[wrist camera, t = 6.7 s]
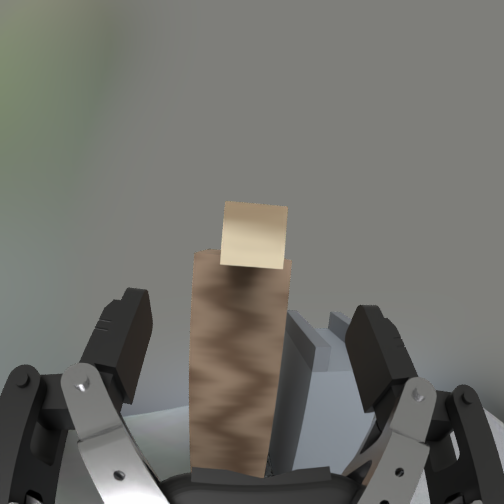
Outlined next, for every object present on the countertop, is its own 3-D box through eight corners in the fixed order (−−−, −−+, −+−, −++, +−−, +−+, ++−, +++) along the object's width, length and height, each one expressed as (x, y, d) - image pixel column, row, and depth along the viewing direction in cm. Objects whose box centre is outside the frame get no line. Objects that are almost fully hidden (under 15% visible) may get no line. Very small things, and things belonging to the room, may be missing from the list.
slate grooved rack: (280, 511, 25) (316, 347, 25) (267, 447, 40) (285, 310, 40) (339, 504, 26) (391, 344, 25) (314, 445, 41) (340, 311, 40)
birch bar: (282, 269, 14) (287, 206, 14) (220, 264, 14) (225, 200, 14) (250, 252, 38) (252, 229, 38) (227, 250, 38) (229, 227, 38)
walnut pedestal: (193, 509, 24) (194, 252, 24) (201, 444, 39) (208, 248, 39) (257, 512, 25) (291, 260, 24) (249, 447, 40) (269, 253, 39)
